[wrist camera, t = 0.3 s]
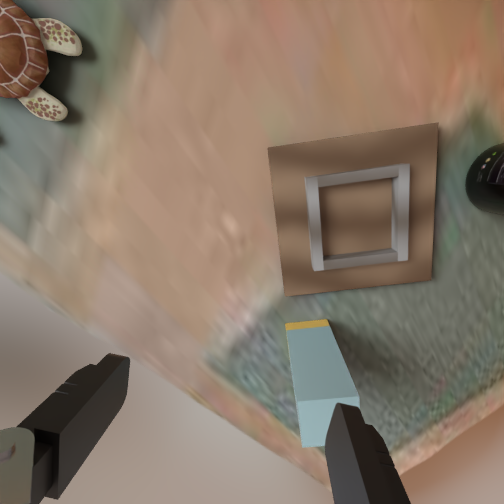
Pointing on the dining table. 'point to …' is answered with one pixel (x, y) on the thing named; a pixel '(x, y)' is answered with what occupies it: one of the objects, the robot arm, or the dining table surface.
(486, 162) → the supplement bottle
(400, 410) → the dining table surface
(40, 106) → the decorative turtle
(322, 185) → the socket board
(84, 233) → the dining table surface
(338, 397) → the peg
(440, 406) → the dining table surface
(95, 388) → the robot arm
